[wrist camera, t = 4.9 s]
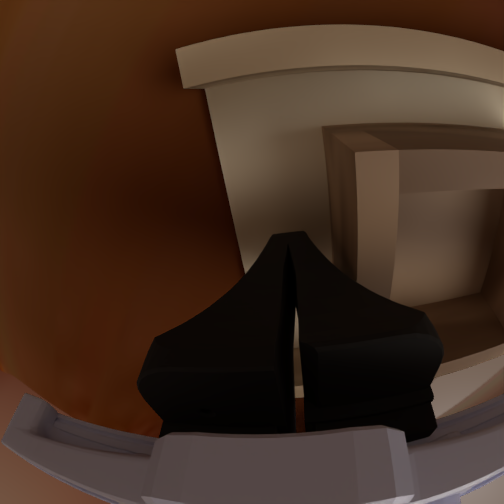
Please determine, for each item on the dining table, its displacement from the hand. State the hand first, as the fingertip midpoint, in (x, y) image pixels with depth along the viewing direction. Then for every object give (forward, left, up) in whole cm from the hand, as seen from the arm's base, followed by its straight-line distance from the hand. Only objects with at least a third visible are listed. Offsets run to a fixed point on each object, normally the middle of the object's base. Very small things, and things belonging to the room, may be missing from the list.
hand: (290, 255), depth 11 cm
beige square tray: (0, -6, -1) cm, 6 cm away
